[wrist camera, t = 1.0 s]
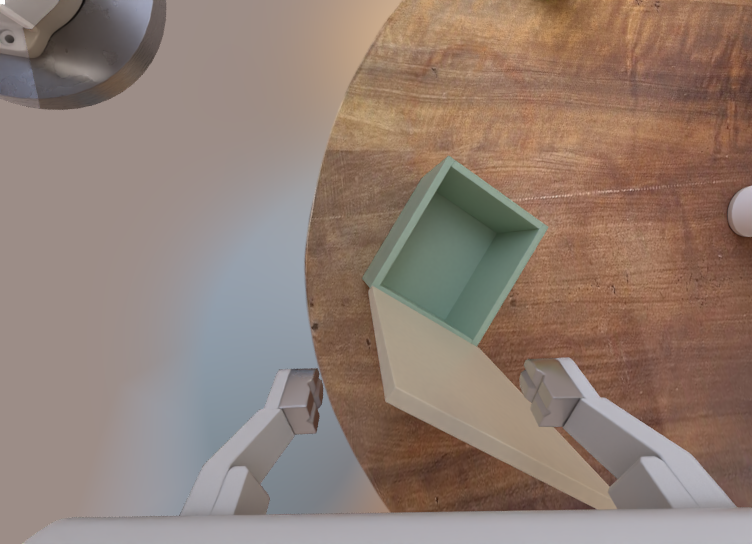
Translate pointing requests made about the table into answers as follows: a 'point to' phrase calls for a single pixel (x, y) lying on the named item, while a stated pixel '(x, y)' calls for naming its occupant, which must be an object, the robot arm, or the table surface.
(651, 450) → the robot arm
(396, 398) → the lid
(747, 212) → the mug
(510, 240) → the green open box
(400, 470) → the table surface
